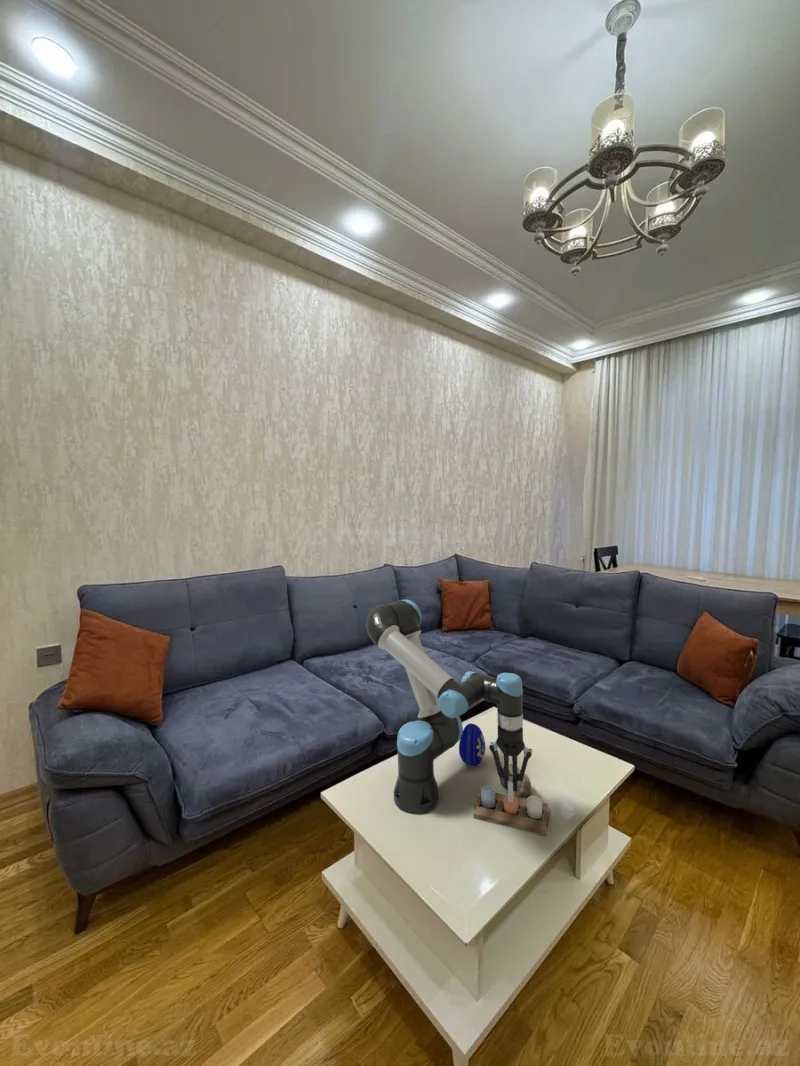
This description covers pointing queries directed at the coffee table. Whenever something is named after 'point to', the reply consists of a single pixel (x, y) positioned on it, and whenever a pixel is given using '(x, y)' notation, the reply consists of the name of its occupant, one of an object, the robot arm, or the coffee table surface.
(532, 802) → the button cream
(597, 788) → the coffee table surface
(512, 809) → the button terracotta
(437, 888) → the coffee table surface
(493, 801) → the button slate
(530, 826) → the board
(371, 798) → the coffee table surface
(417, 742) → the robot arm
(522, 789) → the stone
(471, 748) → the ornament
